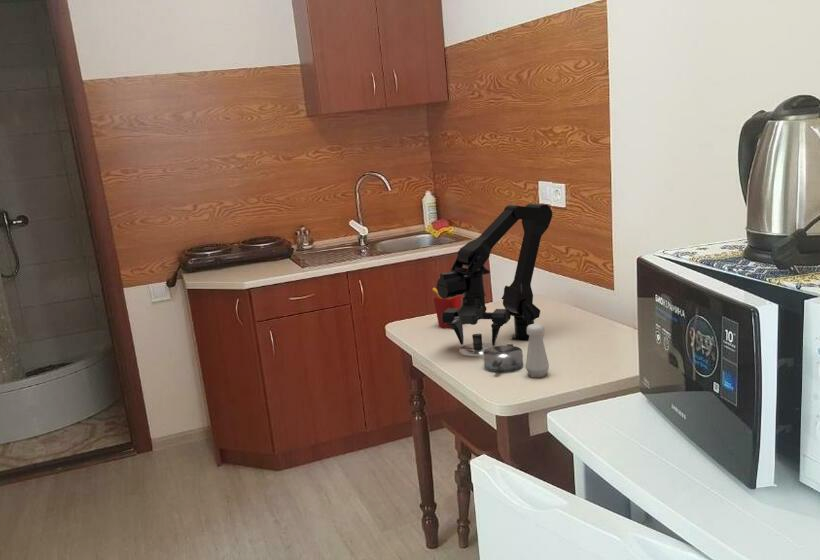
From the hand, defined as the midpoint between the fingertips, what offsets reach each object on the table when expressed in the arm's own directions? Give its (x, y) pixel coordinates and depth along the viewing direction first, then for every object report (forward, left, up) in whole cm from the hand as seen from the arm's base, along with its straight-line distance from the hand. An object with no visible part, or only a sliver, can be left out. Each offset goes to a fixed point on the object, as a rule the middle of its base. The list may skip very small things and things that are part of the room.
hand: (477, 345), depth 203 cm
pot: (+12, +10, -1) cm, 16 cm away
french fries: (-22, -15, -2) cm, 26 cm away
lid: (0, 0, -2) cm, 2 cm away
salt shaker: (+17, +20, -2) cm, 27 cm away
